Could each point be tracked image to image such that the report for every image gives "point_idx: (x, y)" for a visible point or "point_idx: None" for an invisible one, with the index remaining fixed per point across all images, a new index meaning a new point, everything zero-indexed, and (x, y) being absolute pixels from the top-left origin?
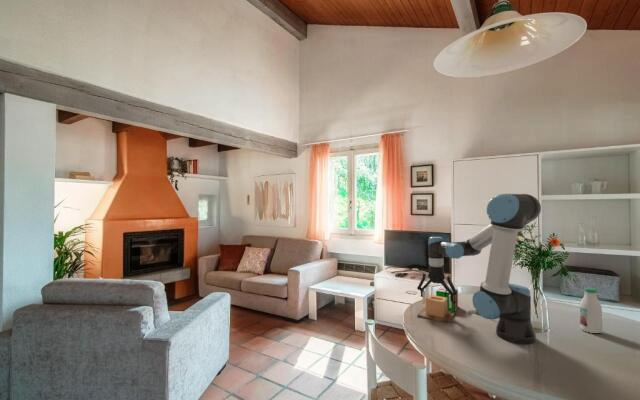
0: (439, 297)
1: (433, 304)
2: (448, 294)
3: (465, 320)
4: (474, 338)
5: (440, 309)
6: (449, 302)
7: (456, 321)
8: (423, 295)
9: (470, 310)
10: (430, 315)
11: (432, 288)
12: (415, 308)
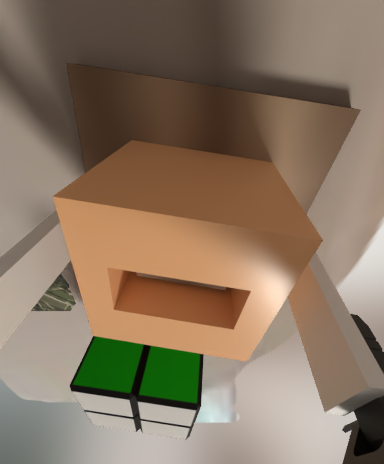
0: (154, 327)
1: (206, 193)
2: (116, 380)
3: (22, 182)
4: None
5: (136, 164)
6: (28, 244)
7: (53, 137)
8: (345, 326)
9: (70, 308)
10: (235, 145)
11: (231, 419)
12: (326, 269)
